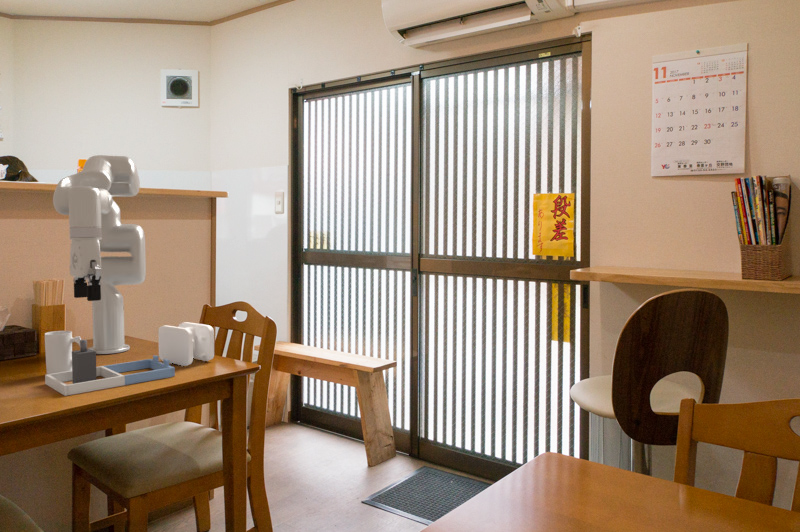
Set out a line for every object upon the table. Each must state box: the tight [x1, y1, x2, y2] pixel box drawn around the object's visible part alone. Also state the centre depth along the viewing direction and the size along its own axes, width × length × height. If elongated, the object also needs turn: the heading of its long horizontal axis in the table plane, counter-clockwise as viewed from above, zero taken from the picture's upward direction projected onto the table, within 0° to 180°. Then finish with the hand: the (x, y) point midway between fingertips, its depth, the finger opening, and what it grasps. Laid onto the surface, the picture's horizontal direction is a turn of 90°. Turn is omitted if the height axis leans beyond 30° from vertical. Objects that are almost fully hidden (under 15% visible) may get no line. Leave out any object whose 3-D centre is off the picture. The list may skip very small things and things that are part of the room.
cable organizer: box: [157, 321, 215, 367], centre depth 190 cm, size 15×11×12 cm
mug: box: [44, 330, 82, 375], centre depth 173 cm, size 10×7×12 cm, turn 100°
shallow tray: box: [44, 354, 176, 397], centre depth 168 cm, size 16×28×4 cm, turn 136°
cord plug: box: [72, 339, 98, 384], centre depth 162 cm, size 4×4×12 cm
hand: (87, 298), depth 162 cm, fingers open, 9 cm apart
